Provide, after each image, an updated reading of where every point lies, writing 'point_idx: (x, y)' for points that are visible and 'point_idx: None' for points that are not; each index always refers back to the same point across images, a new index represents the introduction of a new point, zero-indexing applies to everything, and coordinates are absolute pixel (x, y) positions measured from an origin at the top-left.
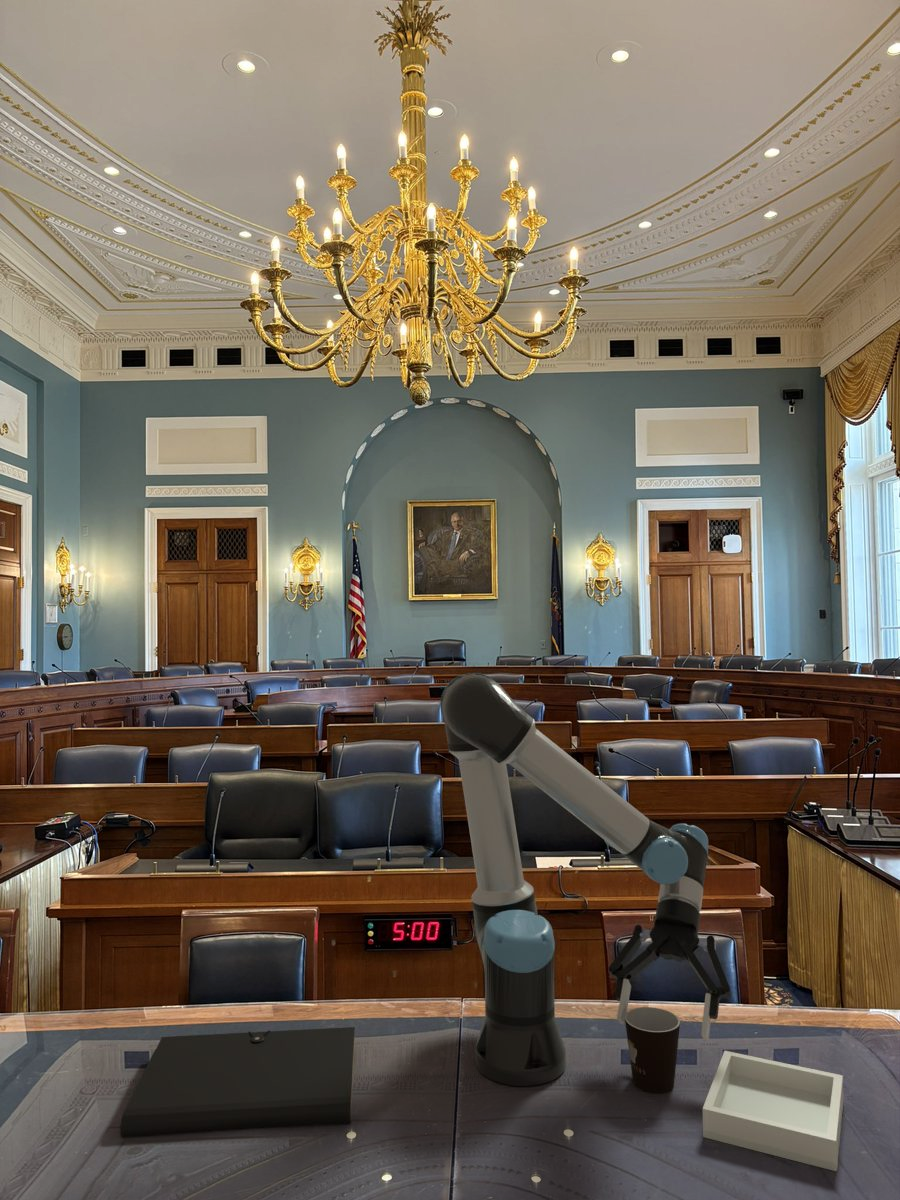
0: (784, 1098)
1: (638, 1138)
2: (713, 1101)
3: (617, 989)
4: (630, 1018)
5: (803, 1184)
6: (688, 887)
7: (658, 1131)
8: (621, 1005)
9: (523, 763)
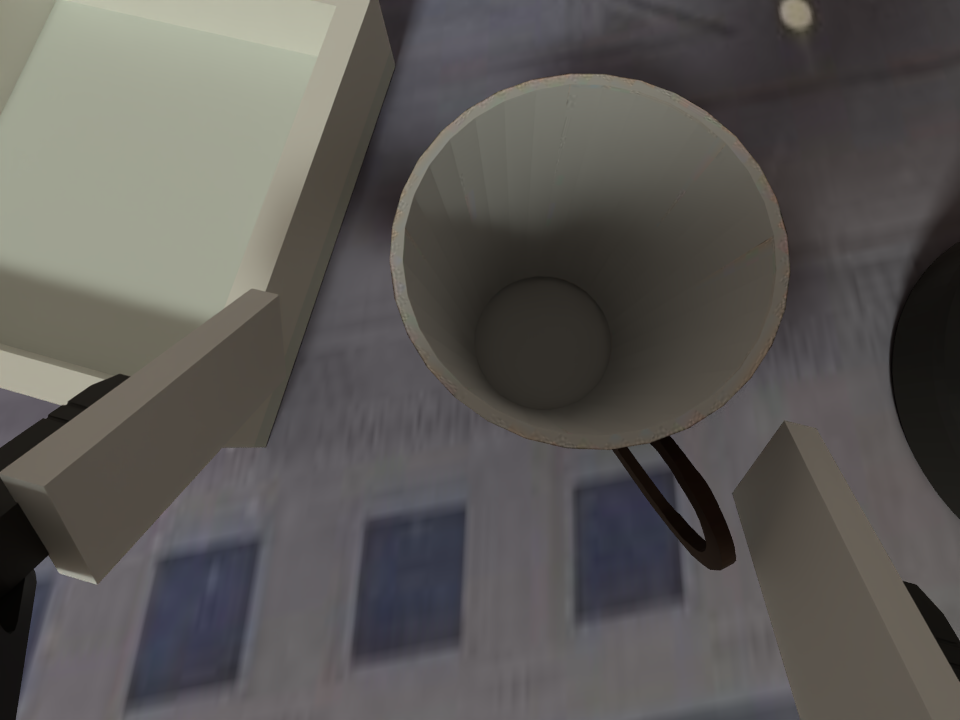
0: (81, 274)
1: (585, 25)
2: (329, 33)
3: (957, 660)
4: (731, 341)
5: None
6: None
7: (526, 68)
8: (832, 485)
9: None
